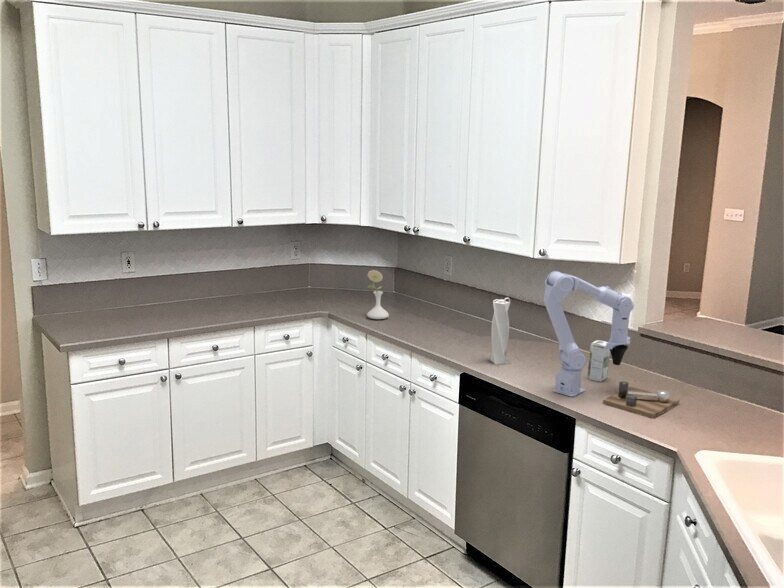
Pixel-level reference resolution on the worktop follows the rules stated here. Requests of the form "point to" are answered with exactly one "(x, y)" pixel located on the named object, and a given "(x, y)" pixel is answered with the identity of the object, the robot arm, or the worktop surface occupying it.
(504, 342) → the skyscraper
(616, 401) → the board
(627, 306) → the robot arm
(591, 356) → the syrup box
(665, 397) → the press lever
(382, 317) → the flower in vase
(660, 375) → the worktop surface
